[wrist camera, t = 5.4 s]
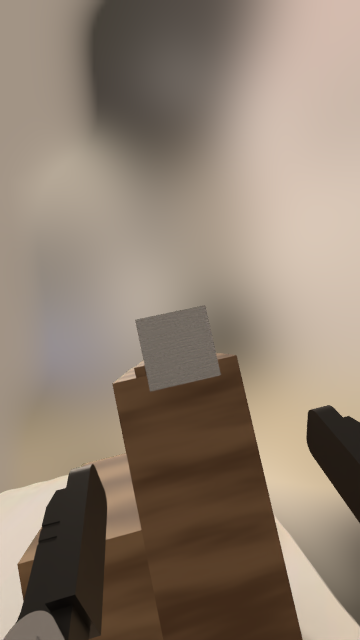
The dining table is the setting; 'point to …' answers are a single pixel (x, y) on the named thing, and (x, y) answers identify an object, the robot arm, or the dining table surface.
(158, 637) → the stand
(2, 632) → the dining table surface
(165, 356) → the steel bar
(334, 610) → the dining table surface
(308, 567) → the dining table surface
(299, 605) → the dining table surface
